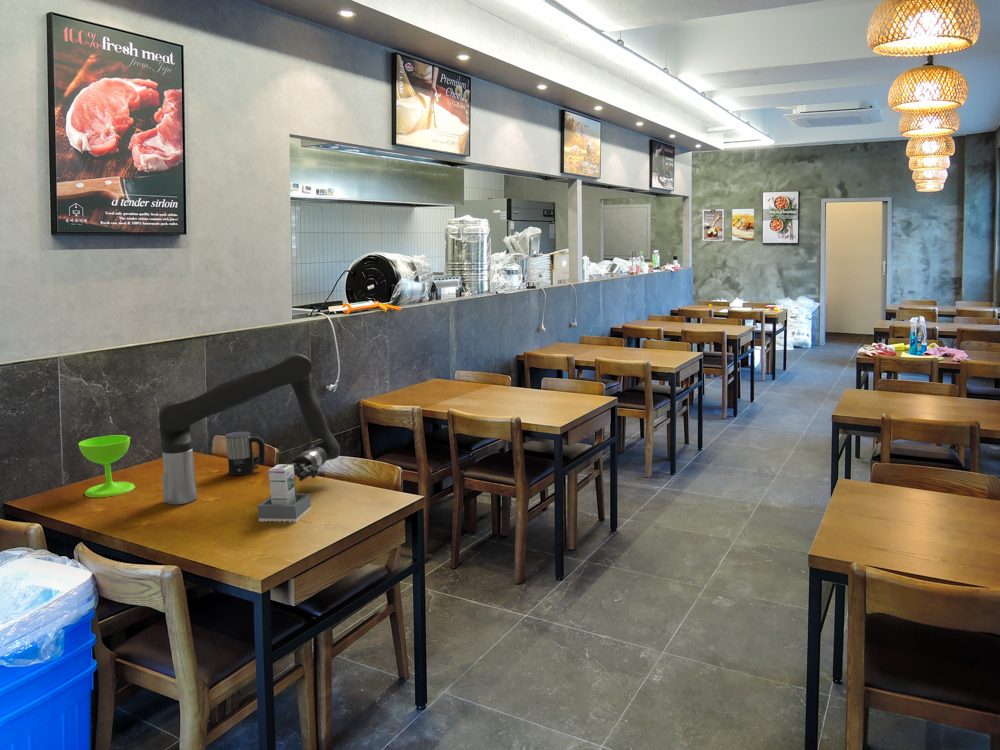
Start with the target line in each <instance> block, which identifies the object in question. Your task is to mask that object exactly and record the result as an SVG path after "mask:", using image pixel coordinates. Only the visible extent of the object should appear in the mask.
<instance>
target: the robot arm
mask: <svg viewBox="0 0 1000 750" xmlns="http://www.w3.org/2000/svg"><path fill="white" fill-rule="evenodd" d="M312 370H313V364H312V362H311V360H310V359H309V357H307V356H306V355H304V354H301V353H297V352H293V353H290V354H288V355H286V356H285V357H284V359H283V360H282V361H281V362H279V363H277V364H275V365H273V366H270V367H268V368H264V369H262V370H261V369H260V370H256V371H250V372H248V373H247V372H246V373H244V374H241V375H238V376H235V377H233V378H230V379H227V380H224V381H222V382H220V383H219V384H217V385H216V386H214V387H212V388H210V389H209V390H208V391H205V392H204V393H201V394H200V395H198V396H196V397H194V398H190V399H187V400H185V401H179V400H169V401H168V402H167V401H166V402H165V403H163V405H162V406H161V407H160V409H159V410H158V411H159V412H158V421H159V424H158V425H159V432H160V434H159V435H160V443H161V445H160V446H161V452H162V453H161V454H162V461H163V462H162V463H163V465H162V466H163V474H161V484H162V485H161V486H162V490H163V491H162V493H163V502H164V503H165V504H168V505H175V506H176V505H183V504H189V503H193V502H195V501H196V500H197V499H198V495H197V494H198V493H197V483H196V482H197V481H196V474H195V471H196V470H195V463H194V462H195V461H194V450H193V440H192V439H193V438H192V432H191V426H192V425H194V424H196V423H198V422H200V421H202V420H204V419H205V418H207V417H210V416H213V415H216V414H219V413H222V412H225V411H228V410H231V409H233V408H236V407H238V406H241V405H244V404H247V403H248V402H251V401H253V400H255V399H257V398H259V397H261V396H264V395H266V394H268V393H270V392H271V391H273V390H276V389H278V388H281V387H283V386H288V385H291V387H292V390H293V392H294V395H295V397H296V400H297V403H298V406H299V409H300V413H301V416H302V418H303V419H302V420H303V422H304V426H305V428H306V431H307V433H308V437H310V438H319V439H321V441H318V442H314V443H312V444H311V445H310V446H309V447H308V449H307V450H305V451H304V452H302V453H300V454H299V455H298V456H295V458H293V460H292V461H291V463H290V465H294V475H295V477H297V478H298V481H299V482H302V481H304V480H305V479H309V478H310V477H311V478H312V479H314V478H316V477H317V476H318V475H319V474H320V473H321V467H322V466H323V465H324V464H325V463H326V462H327V461H331V460H336V459H337V458H339V457H340V454H341V447H340V443H339V442H338V441H337V439H336V438H335V436H334V435H333V434H332V431H331V430H330V428H329V427H328V424H327V422H326V421H327V420H326V417H325V414H324V412H323V410H322V408H321V405H320V402H319V401H318V399H317V395H316V394H315V391H314V389H313V386H312V383H311V378H310V375H311V373H312ZM194 500H195V501H194Z"/></svg>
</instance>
